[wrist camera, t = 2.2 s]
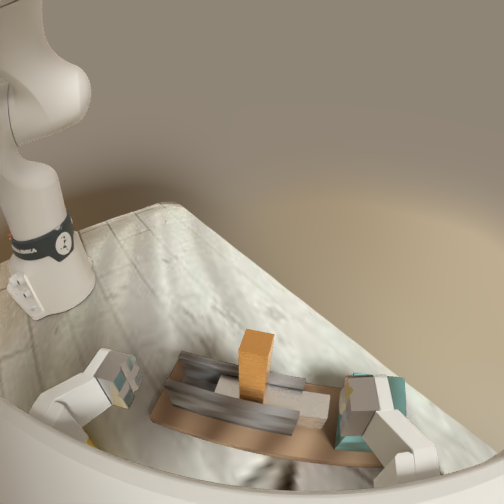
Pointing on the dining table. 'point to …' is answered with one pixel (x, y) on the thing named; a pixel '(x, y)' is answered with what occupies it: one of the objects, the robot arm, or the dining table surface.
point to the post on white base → (257, 389)
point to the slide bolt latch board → (260, 416)
